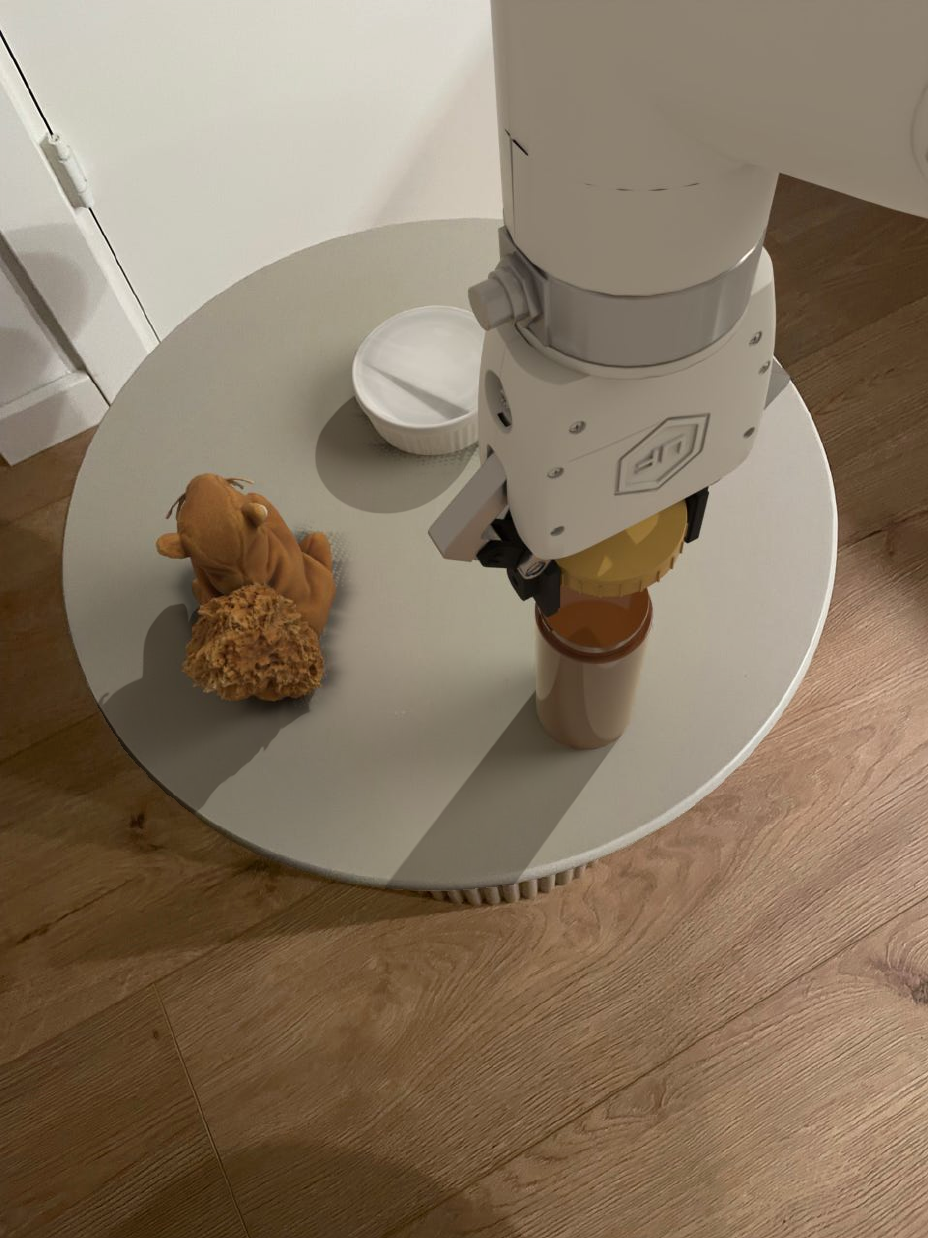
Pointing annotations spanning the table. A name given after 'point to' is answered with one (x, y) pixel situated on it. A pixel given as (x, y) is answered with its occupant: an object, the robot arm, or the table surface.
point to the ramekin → (422, 379)
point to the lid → (628, 556)
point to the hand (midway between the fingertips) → (605, 552)
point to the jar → (590, 665)
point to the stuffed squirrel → (250, 593)
